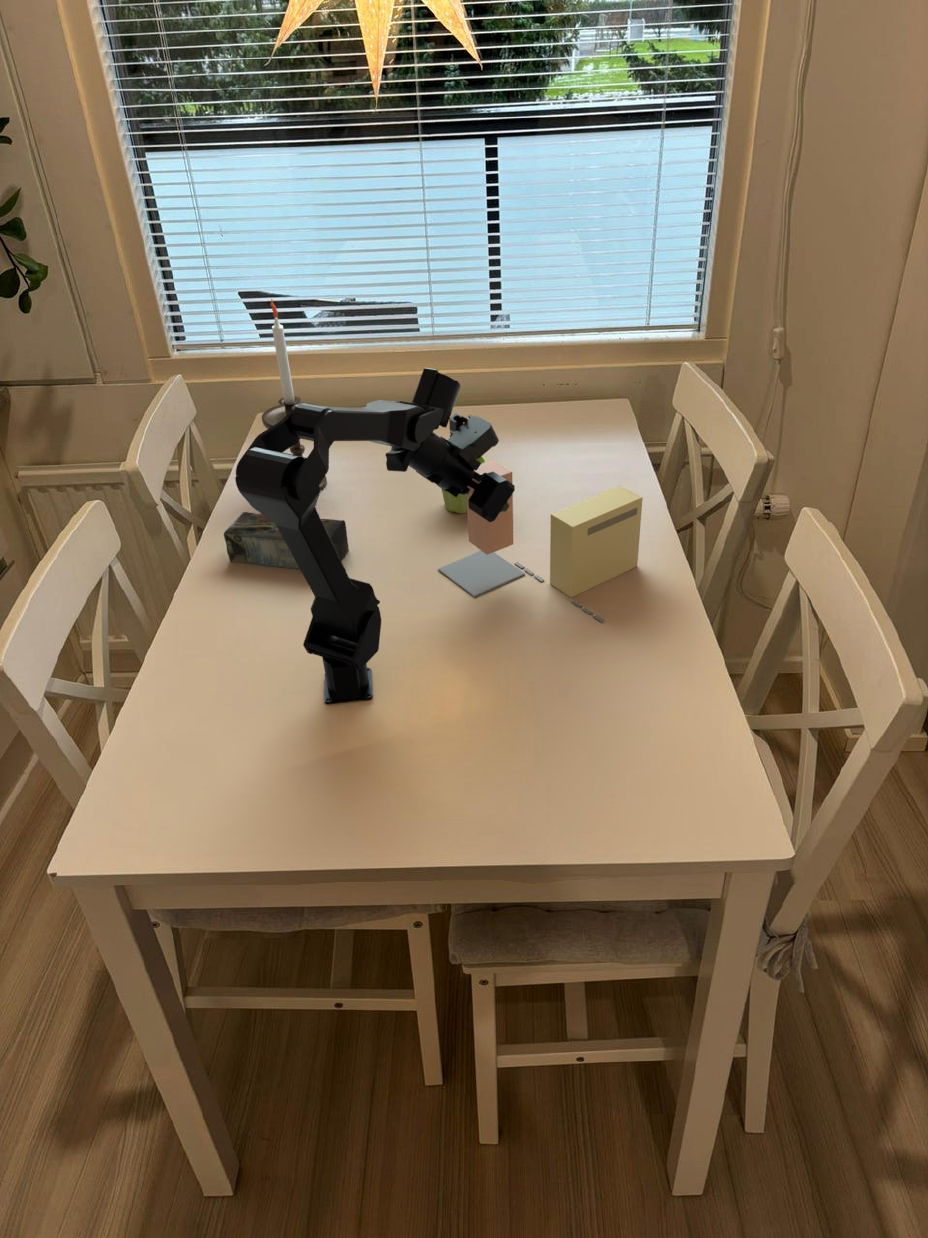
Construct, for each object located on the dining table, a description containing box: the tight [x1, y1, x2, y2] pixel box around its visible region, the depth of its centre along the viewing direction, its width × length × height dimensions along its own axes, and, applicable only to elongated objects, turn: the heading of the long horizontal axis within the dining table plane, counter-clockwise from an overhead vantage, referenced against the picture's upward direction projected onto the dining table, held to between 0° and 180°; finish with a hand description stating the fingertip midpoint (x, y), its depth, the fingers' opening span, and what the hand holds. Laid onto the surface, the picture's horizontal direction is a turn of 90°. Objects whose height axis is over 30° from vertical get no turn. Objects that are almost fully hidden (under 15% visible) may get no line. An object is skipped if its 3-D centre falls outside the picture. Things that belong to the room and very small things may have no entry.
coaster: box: [437, 550, 526, 598], centre depth 149 cm, size 10×10×1 cm
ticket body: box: [549, 485, 643, 598], centre depth 144 cm, size 14×5×12 cm, turn 125°
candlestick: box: [261, 298, 328, 492], centre depth 167 cm, size 11×11×35 cm
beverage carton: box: [223, 511, 350, 570], centre depth 154 cm, size 8×19×7 cm, turn 75°
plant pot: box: [440, 455, 488, 514], centre depth 165 cm, size 9×9×9 cm
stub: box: [466, 459, 514, 555], centre depth 141 cm, size 5×5×12 cm
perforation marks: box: [514, 561, 605, 624], centre depth 144 cm, size 1×21×1 cm, turn 35°
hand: (496, 501), depth 141 cm, fingers closed on stub, 5 cm apart
